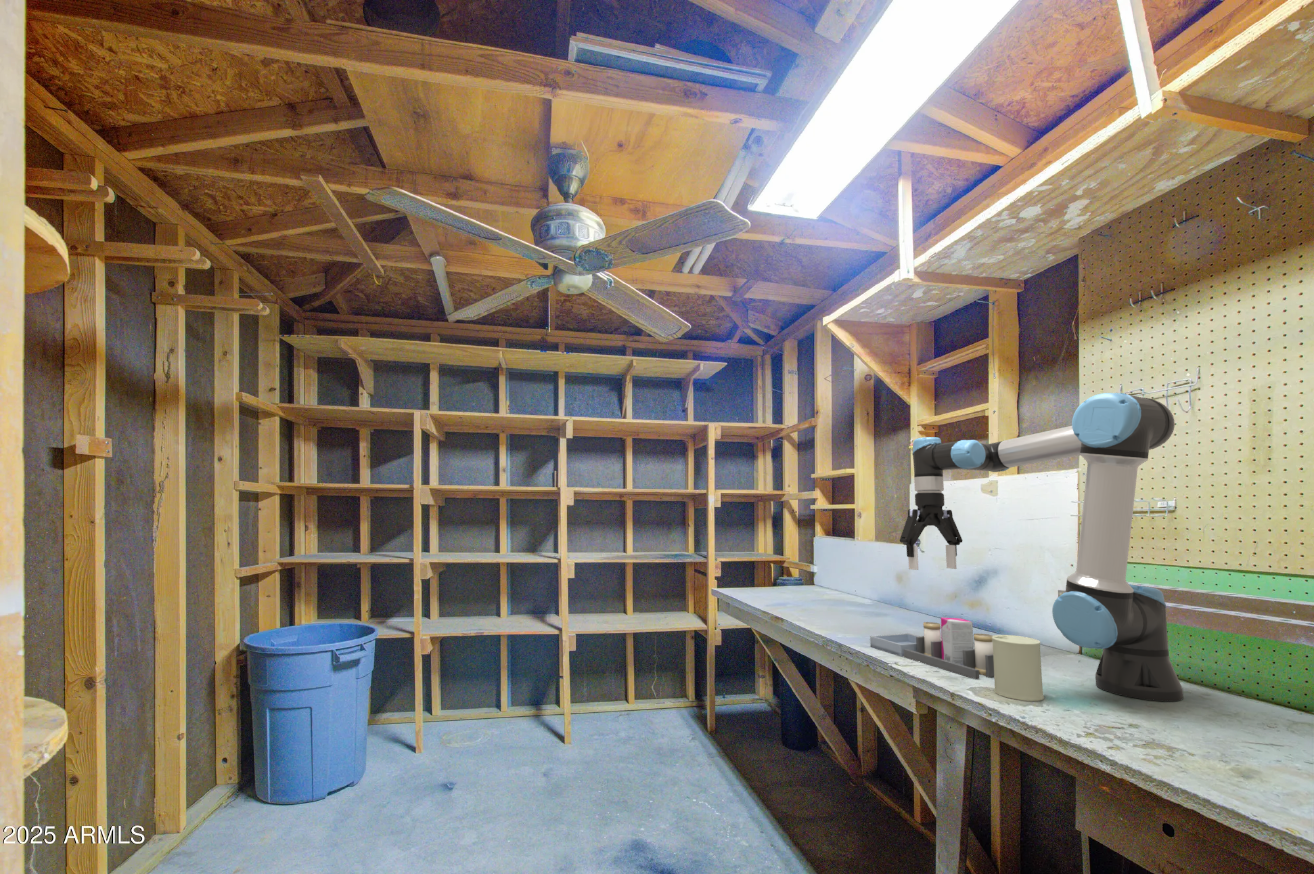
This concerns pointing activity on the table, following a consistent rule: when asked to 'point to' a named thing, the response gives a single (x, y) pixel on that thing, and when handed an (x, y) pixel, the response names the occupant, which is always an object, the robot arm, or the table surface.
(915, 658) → the holder
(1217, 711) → the table surface
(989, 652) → the cylinder
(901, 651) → the tray
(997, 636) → the can
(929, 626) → the cylinder
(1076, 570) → the robot arm
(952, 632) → the supplement box
